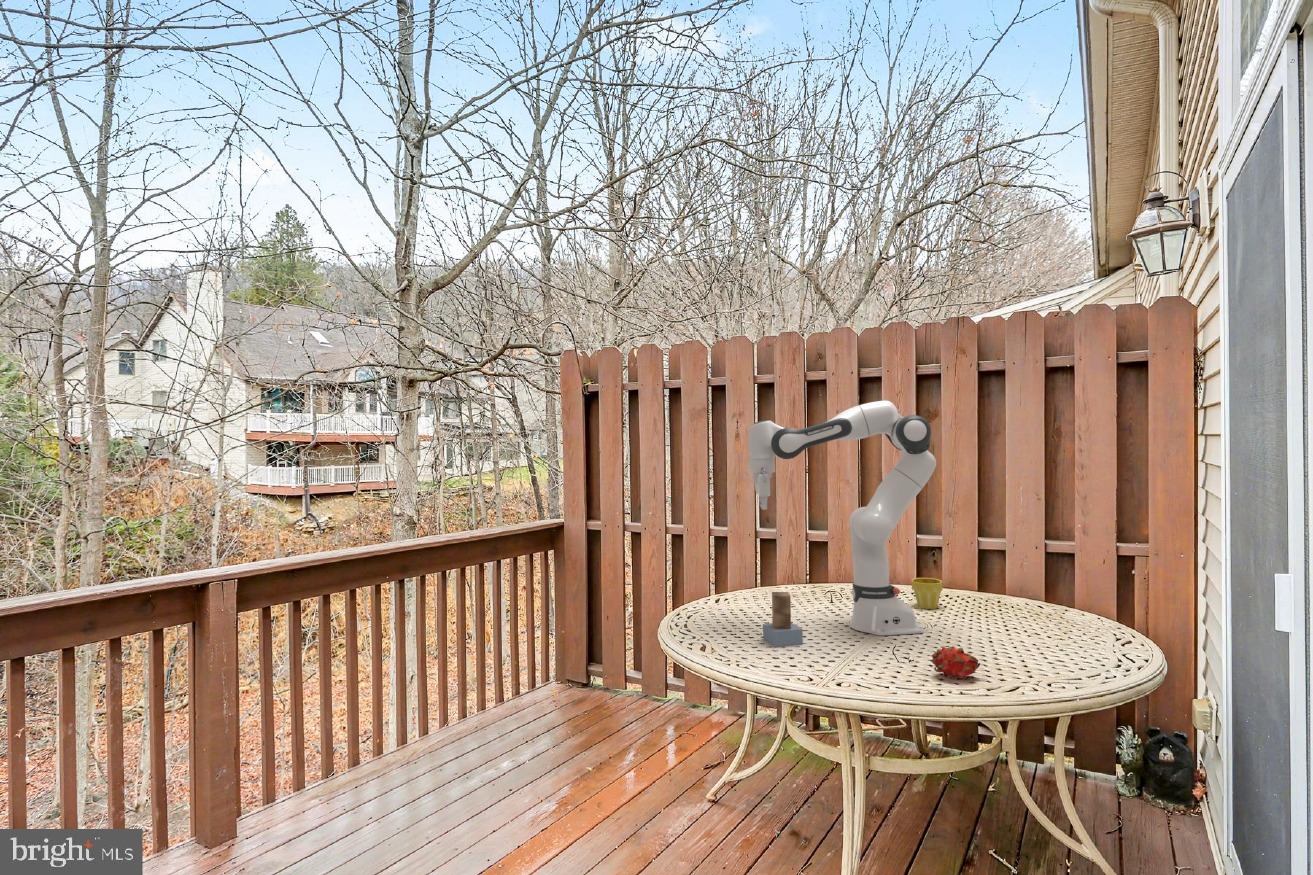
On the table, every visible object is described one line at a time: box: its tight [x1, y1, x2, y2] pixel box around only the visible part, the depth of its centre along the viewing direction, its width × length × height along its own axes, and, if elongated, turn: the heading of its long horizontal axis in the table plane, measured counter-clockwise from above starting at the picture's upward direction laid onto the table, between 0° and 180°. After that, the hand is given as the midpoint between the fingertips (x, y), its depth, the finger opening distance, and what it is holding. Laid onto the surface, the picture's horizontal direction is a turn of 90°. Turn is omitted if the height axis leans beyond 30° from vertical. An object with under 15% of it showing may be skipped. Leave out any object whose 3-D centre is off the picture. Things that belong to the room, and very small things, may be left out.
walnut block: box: [771, 591, 792, 629], centre depth 197 cm, size 5×5×10 cm
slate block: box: [762, 622, 804, 649], centre depth 197 cm, size 9×9×5 cm
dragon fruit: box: [931, 645, 981, 681], centre depth 164 cm, size 8×8×12 cm
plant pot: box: [911, 577, 943, 610], centre depth 234 cm, size 10×10×10 cm
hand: (763, 508), depth 219 cm, fingers open, 8 cm apart
